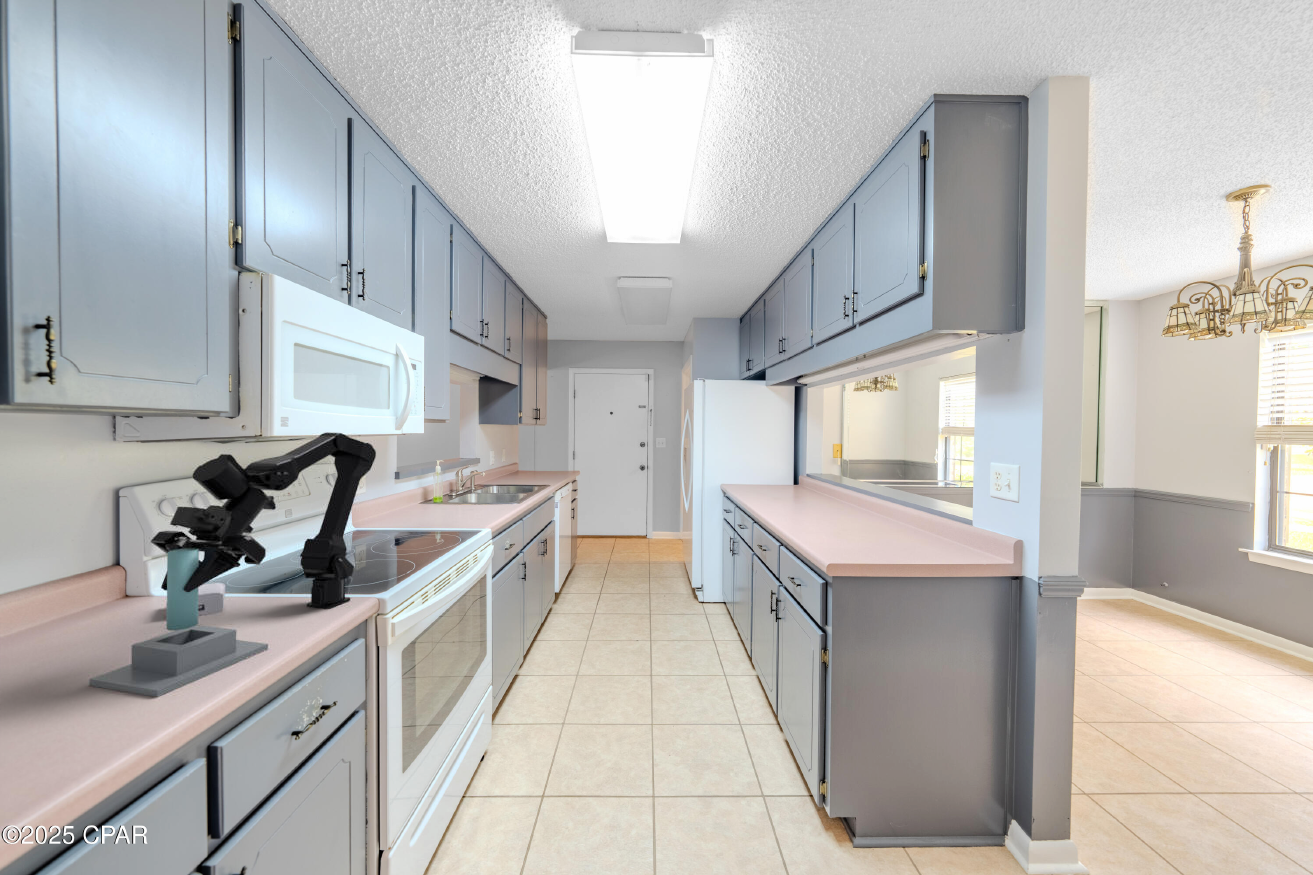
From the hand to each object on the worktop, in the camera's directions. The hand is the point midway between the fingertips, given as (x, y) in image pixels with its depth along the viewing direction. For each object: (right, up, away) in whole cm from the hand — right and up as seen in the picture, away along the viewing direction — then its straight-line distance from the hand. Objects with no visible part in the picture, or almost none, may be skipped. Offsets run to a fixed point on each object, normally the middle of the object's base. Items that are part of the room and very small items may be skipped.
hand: (174, 590), depth 89 cm
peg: (0, -7, +1) cm, 7 cm away
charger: (-23, -13, +30) cm, 40 cm away
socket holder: (+1, -13, +1) cm, 14 cm away
